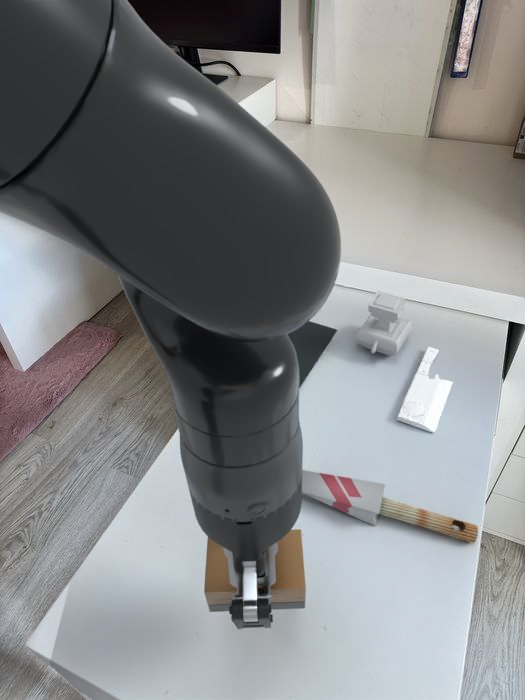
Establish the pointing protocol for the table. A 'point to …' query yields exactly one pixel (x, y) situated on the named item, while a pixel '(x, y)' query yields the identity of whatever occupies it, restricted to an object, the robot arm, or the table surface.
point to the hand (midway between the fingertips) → (256, 578)
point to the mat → (310, 345)
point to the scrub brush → (284, 591)
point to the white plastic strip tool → (425, 396)
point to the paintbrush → (377, 504)
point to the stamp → (384, 325)
